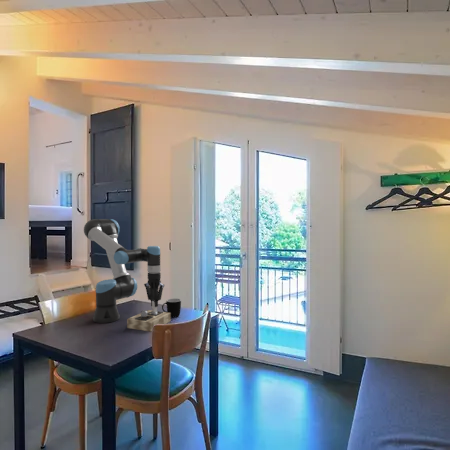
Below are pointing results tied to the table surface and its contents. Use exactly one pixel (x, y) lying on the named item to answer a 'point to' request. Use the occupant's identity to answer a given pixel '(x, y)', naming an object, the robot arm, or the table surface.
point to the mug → (173, 307)
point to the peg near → (144, 314)
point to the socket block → (148, 320)
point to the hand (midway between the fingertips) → (154, 311)
